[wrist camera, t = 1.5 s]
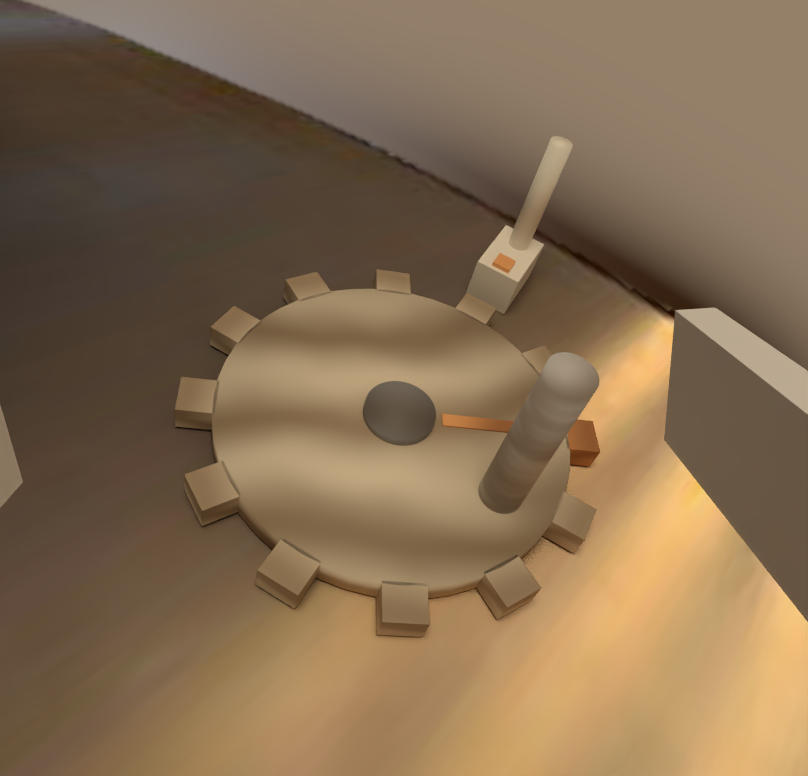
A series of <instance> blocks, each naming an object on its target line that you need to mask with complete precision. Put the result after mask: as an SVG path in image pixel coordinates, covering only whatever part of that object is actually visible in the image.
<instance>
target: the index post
mask: <svg viewBox="0 0 808 776" xmlns="http://www.w3.org/2000/svg"><path fill="white" fill-rule="evenodd" d="M572 146H573V145H572V143H571V142H570V141H569V140H568V139H566V138H564V137H561V136H553V137H552V138H551V140H550V142H549V144H548V147H547V149H546V152H545V154H544V157H543V159H542V161H541V164H540V166H539V169H538V171H537V173H536V176H535V178H534V181H533V184H532V186H531V188H530V190H529V193H528V196H527V198H526V200H525V202H524V205H523V207H522V210H521V212H520V215H519V217H518V219H517V222H516V224H515V227H514V229H512V228H510V227H509V226H507V225H506V226H505V227H504V229H503V230H502V231H501V232H500V234H499V235H498V236H497V238H496V239H495V240H494V241H493V243H492V244H491V245H490V247H489V248H488V249H487V250H486V252H485V253H484V254H483V256H482V257H481V258H480V259H479V261H478V263H477V265H476V268H475V270H474V273H473V276H472V278H471V281H470V283H469V286H468V289H467V291H466V294H467V293H469V294H471V295H472V296H474V297H476V298H478V299H480V300H482V301H484V302H486V303H488V304H490V305H491V306H493V307H495V308H497V309H496V311H498V312H500V313H502V314H504V313H505V312H506V310H507V309H508V307H509V306H510V305H511V303H512V302H513V300H514V299H515V297H516V296H517V294H518V293H519V291H520V290H521V288H522V287H523V285H524V284H525V282H526V281H527V279H528V278H529V276H530V274H531V272H532V270H533V268H534V266H535V263H536V261H537V259H538V257H539V255H540V253H541V250H542V248H543V246H544V244H542V243H540V242H538V241H536V240H534V239H532V237H533V235H534V233H535V231H536V228H537V226H538V224H539V221H540V219H541V217H542V215H543V212H544V210H545V208H546V206H547V203H548V201H549V198H550V197H551V194H552V192H553V190H554V188H555V185H556V183H557V180H558V178H559V176H560V174H561V172H562V169H563V167H564V165H565V163H566V160H567V158H568V156H569V154H570V151H571V149H572Z"/></svg>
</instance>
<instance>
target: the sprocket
mask: <svg viewBox="0 0 808 776" xmlns="http://www.w3.org/2000/svg"><path fill="white" fill-rule="evenodd" d="M283 298H284V299H285V301H286V302H287V304H288V305H286V306H284V307H282V308H280V309H278V310H276V311H275V312H273V313H272V314H270V315H268V316H267V317H265V318H264V319H262V320H261V321H260V320H258V319H256V318H255V317H253V316H251V315H249V314H248V313H246V312H244V311H242V310H240V309H239V308H237V307H235V306H233V307H232V308H231V309H230V310H229V311H228V312H227V313H226V314H224V315H223V316H222V317H221V318H220V319H219V320H218V321H217V322H216V323H214V324H213V325H212V326H211V330H210V345H212V346H213V347H215V348H217V349H219V350H220V351H222V352H224V353H226V354H227V355H229V356H228V358H227V359H226V361H225V363H224V365H223V368H222V370H221V372H220V375H219V377H218V380H217V381H216V380H207V379H197V378H188V377H181V382H180V387H179V391H178V396H177V401H176V406H175V427H186V428H196V429H206V430H211V435H212V446H213V455H214V459H215V464H212V465H210V466H207V467H204V468H201V469H198V470H196V471H193V472H190V473H187V474H185V475H184V491H185V493H186V495H187V497H188V499H189V501H190V503H191V505H192V507H193V509H194V511H195V513H196V515H197V517H198V519H199V522H200V524H201V526H204V525H206V524H209V523H211V522H214V521H216V520H219V519H221V518H224V517H227V516H229V515H232V514H234V513H237V512H238V513H239V515H240V516H241V517H242V518H243V520H244V521H245V522H246V523H247V524H248V526H249V527H250V528H251V529H252V531H253V532H254V533H255V534H256V535H257V536H258V537H259V538H260V539H261V540H262V541H263V542H265V543H266V544H267V545H268V546H269V547H270V548H271V549H272V552H271V553H270V554H269V555H268V557H267V558H266V559H265V561H264V562H263V563H262V565H261V566H260V567H259V569H258V570H257V576H256V583H255V584H256V585H257V586H259V587H260V588H262V589H264V590H265V591H267V592H268V593H270V594H272V595H273V596H275V597H276V598H278V599H280V600H281V601H283V602H284V603H286V604H287V605H289V606H291V607H292V608H294V609H295V608H296V606H297V605H298V603H299V602H300V600H301V599H302V597H303V596H304V595H305V593H306V592H307V590H308V589H309V587H310V586H311V584H312V583H313V581H314V580H315V578H318V579H320V580H322V581H325V582H327V583H330V584H333V585H335V586H338V587H340V588H343V589H346V590H350V591H354V592H358V593H362V594H366V595H370V596H376V635H393V636H414V637H422V636H423V635H424V633H425V631H426V630H427V628H428V627H429V625H430V621H429V603H428V598H435V597H442V596H449V595H453V594H456V593H460V592H464V591H467V590H471V589H474V588H477V590H478V591H479V593H480V594H481V596H482V597H483V599H484V600H485V602H486V603H487V605H488V606H489V608H490V609H491V611H492V612H493V614H494V615H495V617H496V618H497V620H498V619H500V618H501V617H503V616H505V615H507V614H508V613H510V612H512V611H514V610H515V609H517V608H519V607H521V606H522V605H524V604H526V603H528V602H529V601H531V600H532V599H533V597H534V596H535V595H536V594H537V593H538V591H539V590H540V589H541V587H540V585H539V584H538V582H537V581H536V580H535V578H534V577H533V575H532V574H531V573H530V571H529V570H528V568H527V567H526V566H525V564H524V563H523V561H522V560H521V559H522V558H524V557H525V556H526V555H527V554H528V553H529V552H530V550H531V549H532V548H533V547H534V545H535V544H536V543H537V542H538V540H539V539H540V538H541V537H542V536H544V537H546V538H548V539H549V540H551V541H553V542H555V543H556V544H558V545H560V546H562V547H563V548H565V549H567V550H568V551H570V552H572V553H574V552H575V550H576V549H577V548H578V547H579V546H580V545H581V543H582V542H583V541H584V540H585V537H586V535H587V532H588V530H589V527H590V525H591V522H592V520H593V517H594V515H595V512H596V510H597V509H595V508H593V507H591V506H590V505H588V504H586V503H584V502H582V501H581V500H579V499H577V498H575V497H573V496H572V495H570V494H568V493H566V489H567V484H568V478H569V472H570V464H571V465H581V466H590V465H591V464H592V462H593V461H594V460H595V458H596V457H597V456H598V454H599V453H600V450H599V445H598V441H597V437H596V433H595V429H594V425H593V421H585V420H577V418H578V417H579V415H580V414H581V412H582V411H583V409H584V408H585V406H586V405H587V403H588V402H589V400H590V399H591V397H592V396H593V394H594V393H595V391H596V389H597V388H598V386H599V376H598V373H597V371H596V370H595V368H594V367H593V366H592V365H591V364H590V363H589V362H588V361H587V360H586V359H584V358H582V357H580V356H578V355H576V354H572V353H567V352H561V353H556V354H554V355H552V354H551V353H550V352H549V351H548V349H547V348H546V347H545V346H544V345H543V346H541V347H538V348H535V349H532V350H530V351H527V352H524V353H521V352H520V351H519V350H518V349H517V348H516V347H515V346H513V345H512V344H511V343H510V342H509V341H508V340H507V339H505V338H504V337H503V336H501V335H500V334H499V333H497V332H496V331H495V330H493V329H492V328H490V327H489V325H490V322H491V320H492V318H493V316H494V313H495V311H496V309H497V308H495V307H493V306H491V305H490V304H488V303H486V302H484V301H482V300H480V299H478V298H476V297H474V296H472V295H471V294H469V293H467V294H466V295H465V296H464V298H463V299H462V300H461V302H460V303H459V304H458V305H457V307H456V308H454V307H451V306H449V305H446V304H443V303H441V302H438V301H435V300H432V299H429V298H425V297H421V296H418V295H414V294H411V292H410V275H409V274H406V273H399V272H392V271H385V270H378V269H376V273H375V277H374V281H373V285H372V289H349V290H339V291H332V292H331V291H330V290H329V288H328V287H327V285H326V284H325V283H324V281H323V280H322V278H321V277H320V276H319V274H318V273H317V272H314V273H310V274H306V275H302V276H298V277H294V278H290V279H286V280H285V287H284V294H283Z"/></svg>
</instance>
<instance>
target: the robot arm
mask: <svg viewBox="0 0 808 776" xmlns="http://www.w3.org/2000/svg"><path fill="white" fill-rule="evenodd" d="M664 440H665V441H666V442H667V444H668V445H669V446H670V448H671V449H672V450H673V451H674V453H675V454H676V455H677V456H678V458H679V459H680V460H681V462H682V463H683V464H684V465H685V467H686V468H687V469H688V470H689V472H690V473H691V474H692V475H693V477H694V478H695V479H696V481H697V482H698V483H699V484H700V486H701V487H702V488H703V489H704V491H705V492H706V493H707V495H708V496H709V497H710V498H711V500H712V501H713V502H714V503H715V505H716V506H717V507H718V508H719V510H720V511H721V512H722V514H723V515H724V516H725V517H726V519H727V520H728V521H729V522H730V524H731V525H732V526H733V528H734V529H735V530H736V531H737V533H738V534H739V535H740V536H741V538H742V539H743V540H744V541H745V543H746V544H747V545H748V547H749V548H750V549H751V550H752V552H753V553H754V554H755V555H756V557H757V558H758V559H759V561H760V562H761V563H762V564H763V566H764V567H765V568H766V569H767V571H768V572H769V573H770V574H771V576H772V577H773V578H774V580H775V581H776V582H777V583H778V585H779V586H780V587H781V588H782V590H783V591H784V592H785V594H786V595H787V596H788V597H789V599H790V600H791V601H792V602H793V604H794V605H795V606H796V607H797V609H798V610H799V611H800V613H801V614H802V615H803V616H804V618H805V619H806V620H807V621H808V371H807V370H805V369H804V368H802V367H801V366H799V365H798V364H797V363H795V362H794V361H792V360H791V359H789V358H788V357H786V356H785V355H783V354H782V353H780V352H779V351H778V350H776V349H775V348H773V347H772V346H770V345H769V344H767V343H766V342H765V341H763V340H762V339H760V338H759V337H757V336H756V335H754V334H753V333H751V332H750V331H749V330H747V329H746V328H744V327H743V326H741V325H740V324H738V323H737V322H735V321H734V320H732V319H731V318H729V317H728V316H726V315H725V314H724V313H722V312H721V311H719V310H718V309H716V308H704V309H689V310H675V321H674V333H673V344H672V356H671V367H670V379H669V390H668V402H667V413H666V425H665V436H664ZM22 482H23V481H22V477H21V474H20V470H19V467H18V464H17V460H16V457H15V453H14V450H13V447H12V443H11V440H10V436H9V433H8V429H7V426H6V423H5V419H4V416H3V412H2V409H1V405H0V507H1V506H2V505H3V504H4V503H5V502H6V501H7V499H8V498H9V497H10V496H11V495H12V494H13V493H14V491H15V490H16V489H17V488H18V487H19V486H20V485H21V483H22Z"/></svg>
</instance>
